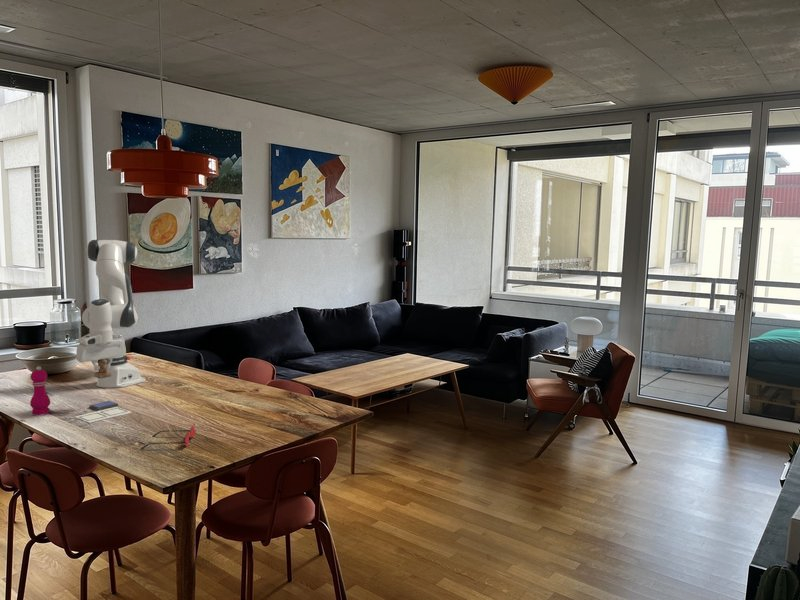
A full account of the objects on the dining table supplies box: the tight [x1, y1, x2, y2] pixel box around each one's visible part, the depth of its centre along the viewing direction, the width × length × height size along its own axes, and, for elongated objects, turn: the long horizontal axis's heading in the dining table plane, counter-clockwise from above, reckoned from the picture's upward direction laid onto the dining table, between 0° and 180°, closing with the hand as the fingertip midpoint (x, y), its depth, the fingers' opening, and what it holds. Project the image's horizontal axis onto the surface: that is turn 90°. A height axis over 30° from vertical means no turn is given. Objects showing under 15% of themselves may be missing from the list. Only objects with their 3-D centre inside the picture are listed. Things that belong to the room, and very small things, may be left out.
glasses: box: [140, 425, 197, 450], centre depth 222 cm, size 14×16×5 cm
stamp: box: [93, 359, 111, 379], centre depth 261 cm, size 5×5×8 cm
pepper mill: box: [29, 365, 51, 416], centre depth 251 cm, size 7×7×20 cm
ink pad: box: [89, 400, 119, 411], centre depth 263 cm, size 9×7×1 cm
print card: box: [74, 406, 133, 424], centre depth 252 cm, size 18×12×1 cm, turn 144°
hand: (102, 369), depth 261 cm, fingers closed on stamp, 3 cm apart
